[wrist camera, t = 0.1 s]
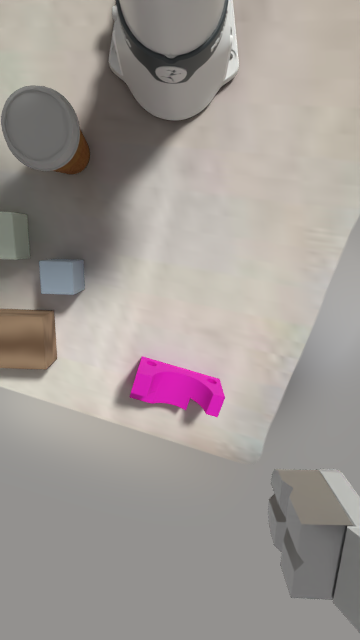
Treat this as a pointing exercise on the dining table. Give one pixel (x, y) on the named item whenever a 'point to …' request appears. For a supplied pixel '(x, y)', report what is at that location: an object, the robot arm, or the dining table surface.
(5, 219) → the sage block
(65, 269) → the slate block
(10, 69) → the dining table surface
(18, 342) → the walnut pedestal
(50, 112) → the disposable coffee cup
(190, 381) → the toy block
